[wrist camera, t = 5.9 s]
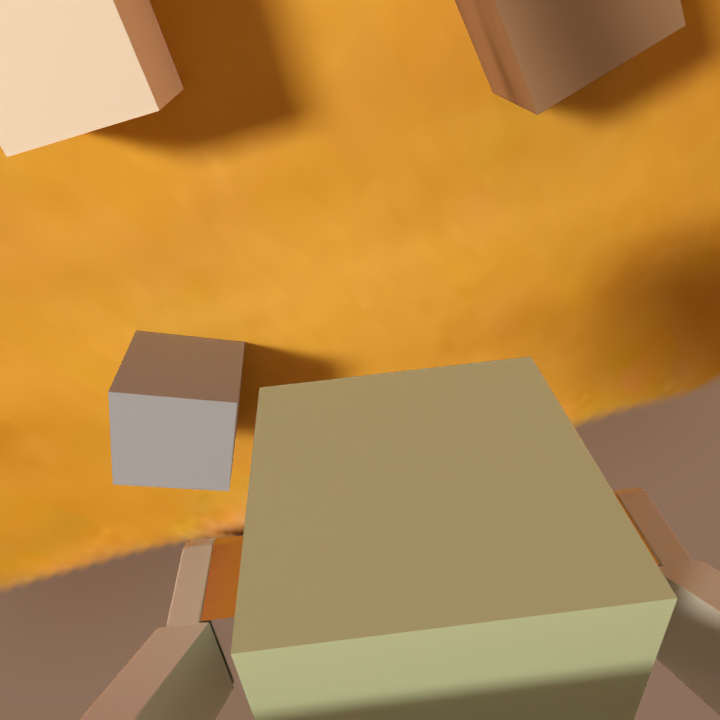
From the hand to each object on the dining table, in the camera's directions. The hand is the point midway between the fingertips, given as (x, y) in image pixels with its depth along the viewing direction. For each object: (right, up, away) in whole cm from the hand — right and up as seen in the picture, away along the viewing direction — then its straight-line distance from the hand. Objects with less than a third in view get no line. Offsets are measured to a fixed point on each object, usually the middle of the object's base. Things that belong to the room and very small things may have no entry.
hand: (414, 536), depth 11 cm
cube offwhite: (-11, +15, +10) cm, 21 cm away
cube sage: (0, +1, +1) cm, 2 cm away
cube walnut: (+5, +17, +11) cm, 21 cm away
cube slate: (-9, +2, +18) cm, 21 cm away
